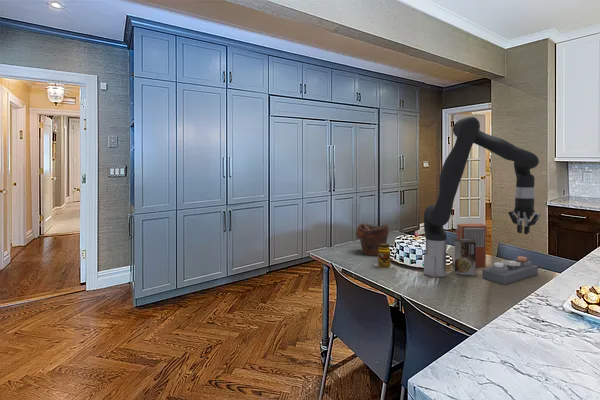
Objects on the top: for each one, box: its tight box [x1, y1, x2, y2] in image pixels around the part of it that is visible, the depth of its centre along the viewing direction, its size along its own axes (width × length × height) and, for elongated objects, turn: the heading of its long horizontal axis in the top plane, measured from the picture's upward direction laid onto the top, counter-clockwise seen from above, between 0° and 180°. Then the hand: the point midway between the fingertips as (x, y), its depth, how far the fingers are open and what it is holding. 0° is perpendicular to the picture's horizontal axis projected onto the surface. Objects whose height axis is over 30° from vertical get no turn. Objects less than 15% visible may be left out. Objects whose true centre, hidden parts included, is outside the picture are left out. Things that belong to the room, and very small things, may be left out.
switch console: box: [481, 258, 539, 285], centre depth 155 cm, size 26×10×6 cm, turn 118°
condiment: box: [373, 242, 394, 270], centre depth 176 cm, size 7×8×12 cm
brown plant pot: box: [355, 223, 390, 256], centre depth 202 cm, size 18×20×18 cm
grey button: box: [493, 261, 504, 269], centre depth 151 cm, size 4×4×2 cm
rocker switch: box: [500, 260, 520, 266], centre depth 155 cm, size 8×4×2 cm, turn 118°
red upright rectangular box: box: [454, 223, 488, 268], centre depth 172 cm, size 21×7×15 cm
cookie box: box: [454, 238, 477, 276], centre depth 161 cm, size 9×6×16 cm
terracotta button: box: [517, 255, 528, 263], centre depth 159 cm, size 4×4×2 cm
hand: (523, 233), depth 158 cm, fingers closed
